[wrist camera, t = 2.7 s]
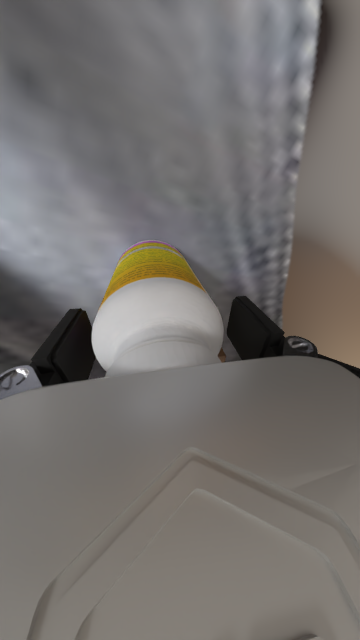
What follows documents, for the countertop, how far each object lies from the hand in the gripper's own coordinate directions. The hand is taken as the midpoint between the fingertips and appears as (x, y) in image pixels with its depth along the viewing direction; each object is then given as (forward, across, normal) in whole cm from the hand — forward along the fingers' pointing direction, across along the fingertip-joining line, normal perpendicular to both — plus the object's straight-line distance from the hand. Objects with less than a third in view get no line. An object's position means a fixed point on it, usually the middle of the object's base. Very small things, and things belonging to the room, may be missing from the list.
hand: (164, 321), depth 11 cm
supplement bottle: (+7, 0, -1) cm, 7 cm away
